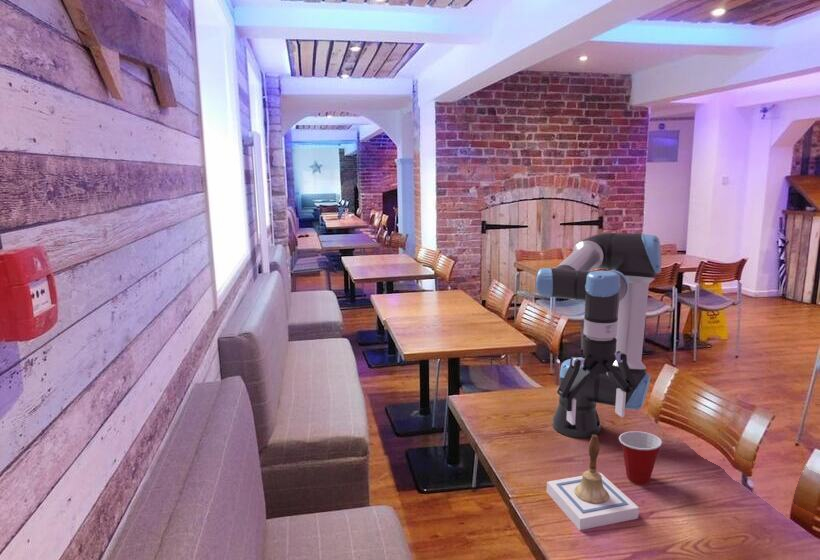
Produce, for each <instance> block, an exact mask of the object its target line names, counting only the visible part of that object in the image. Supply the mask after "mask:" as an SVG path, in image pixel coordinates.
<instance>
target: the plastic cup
mask: <svg viewBox="0 0 820 560" xmlns="http://www.w3.org/2000/svg"><path fill="white" fill-rule="evenodd" d="M618 441H619V442H620V443H621V446H622V451H623V460H624V461H623V462H624V466H625V473H626V477H627V480H629V481H630V482H632V483H633V484H635V485H636V484H637V485H646V484H648V483H650V480H651V476H652V473H653V471H654V467H655V463H656V461H657V456H658V453H659V449H660V448H661V446H662V445H663V444H662V443H663V440H662V439H661V438H660V437H658V436H657V435H655V434H653V433H650V432H645V431H639V430H638V431H636V430H635V431H634V430H631V431H626V432H625V431H624V432H623V433H621V434H620V435H619V436H618Z"/></svg>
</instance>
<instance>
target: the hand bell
mask: <svg viewBox="0 0 820 560" xmlns="http://www.w3.org/2000/svg"><path fill="white" fill-rule="evenodd" d="M600 447H601V446H600V441H599V437H598V435H592V437H590V441H589V442H588V454H589V467H588V470H585V471H583V473H582V476H583V478H582V481H581V483H580V484H579V485H577V486H576V488H575V490H574V492H575V494H576V496H577V497H578V498H580V499H581V500H583V501H586V502H589V503H603V502H605V501H607V500H608V498H609V494H608V492H607V491H606V489H605V488H604V487H603V484H602V476H601V474H602V473H601V472H599V471H597V461H598V460H597V459H598V456H599V454H600ZM600 473H601V474H600Z"/></svg>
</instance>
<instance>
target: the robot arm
mask: <svg viewBox="0 0 820 560" xmlns="http://www.w3.org/2000/svg"><path fill="white" fill-rule="evenodd" d="M661 248H662V247H661V242H660V238H659V237H658V236H656V235H655V234H654V235H653V234H647V233H624V232H623V233H622V232H621V233H619V232H618V233H617V232H614V233H613V232H603V233H598V234H594V235H591V236H589V237H586V238H583V239H582V240H581V241H579V242H578V243H577V244H575V245H574V246H573V249H572V252H571V253H570V254H569V255H568V256H567V257H566V258H565V259H564V260H562V261H561V262H560V263H559V264H558V265H557V266H556V267H554V268H553V267H542V268H540V269H539V270H538V272H537V274H536V279H535V290H536V292H537V294H538V295H539V296H542V297H549V298H557V299H569V300H579V301H584V317H583V318H584V319H583V331H582V332H583V336H582V340H583V341H582V352H583V355H582V357H581V356H579V357H576V356H571V358H568V359H566V360H564V361H563V362H562V363H561V365H560V373H559V374H558V375H559V387H558V389H557V391H556V394H558V395H559V396H558V404H557V406H556V409H555V411H554V415H553V417H552V428H553V429H554V430H555V431H556V432H557V433H560V434H562V435H564V436H567V437H571V438H577V439H584V438H585V439H589V438H592V435H597V436H598V435H599V434H600V432H601V426H602V425H601V424H602V423H601V420H600V417H599V414H598V410H597V409H598V408H597V404H601V405H606V406H608V405H609V406H612V407H615V408H614V413H615V414H616V415H618V416H619V417H620V418H625V413H626V410H634V411H639V410H641V409H642V408H643V406H644V405H645V402H646V399H647V395H648V391H649V387H650V382H651V374H650V373H648V372H647V371H646V370H647V367H646V365H645V364H644V363H643V361H642V358H643V356H642V355H643V347H644V346H643V345H644V338H645V337H644V336H645V335H644V334H645V325H646V315H647V307H648V296H649V295H648V294H649V287H650V284H651V283H652V282H653V281H654V280H655V279H656V274H657V275H658V274H661V273H662V249H661ZM596 269H598V270H596ZM599 269H602V270H599Z"/></svg>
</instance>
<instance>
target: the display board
mask: <svg viewBox="0 0 820 560" xmlns="http://www.w3.org/2000/svg"><path fill="white" fill-rule="evenodd" d="M599 473H600V474H601V476H602V484H603V487H604V488H605V489H606V491H607V492H608V494H609V498H608V500H607V501H605V502H603V503H589V502H586V501H583V500H581V499H580V498H578V497H577V496H576V494H575V492H574V490H575V488H576V486H577V485H579V484H580V483H581V481H582V478H583V475H578V476H572V477H567V478H561V479H560V478H559V479H554V480H549V481H547V482H546V493H547V494H548V495H549V496H550V497H551V499H552V500H553V501H554V503H555V504H556V505H557V506H558V507H559V508H560V510H561V511H562V512H563V513H564V514H565V515H566V516H567V517H568V518H569V520H570V521H571V522H572V524H574V525H575V527H576V528H577V529H578V530H579V531H583V530H587V529H592V528H598V527H603V526H609V525H613V524H618V523H623V522H627V521H633V520H636V519H638V520H639V514H640V513H639V511H640V508H639V506H638V505H637V504H635V503H634V501H633V500H631V499H630V498H629V497H628V496H627V495H626V494H625V493H623V492H622V490H620V489H619V488H618V487H617V486H616V485H614V483H613V482H612V481H610V480H609V479H608V478H607V477H606V476H605V475H604V474H603V473H601V472H599Z"/></svg>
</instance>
